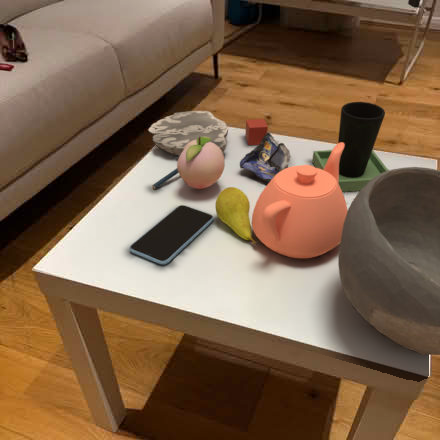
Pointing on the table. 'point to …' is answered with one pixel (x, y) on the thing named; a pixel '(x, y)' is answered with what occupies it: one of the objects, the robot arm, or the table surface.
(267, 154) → the snack package
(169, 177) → the pencil
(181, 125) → the brain slice
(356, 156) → the cup
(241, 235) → the fruit
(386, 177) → the bowl
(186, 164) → the decorative fruit
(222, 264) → the table surface
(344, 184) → the green tray
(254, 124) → the red block
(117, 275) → the table surface
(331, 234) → the teapot
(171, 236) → the smartphone
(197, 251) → the table surface
